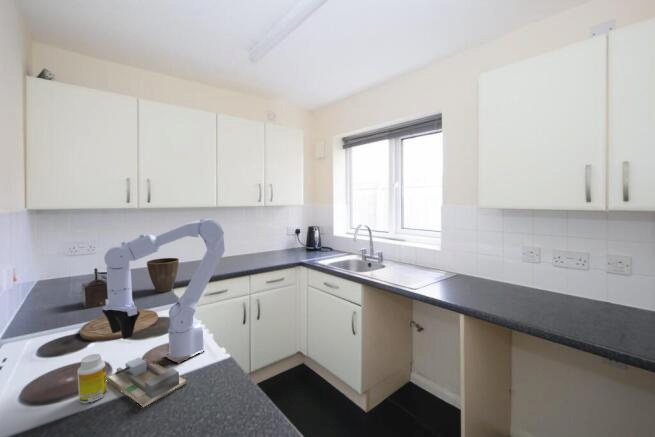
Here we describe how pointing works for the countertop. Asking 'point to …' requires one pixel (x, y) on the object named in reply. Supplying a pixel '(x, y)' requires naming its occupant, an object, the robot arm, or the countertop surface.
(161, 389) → the gauge base
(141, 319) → the trivet
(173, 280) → the plant pot
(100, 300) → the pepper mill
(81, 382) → the supplement bottle
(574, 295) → the countertop surface
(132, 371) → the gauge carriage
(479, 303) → the countertop surface
